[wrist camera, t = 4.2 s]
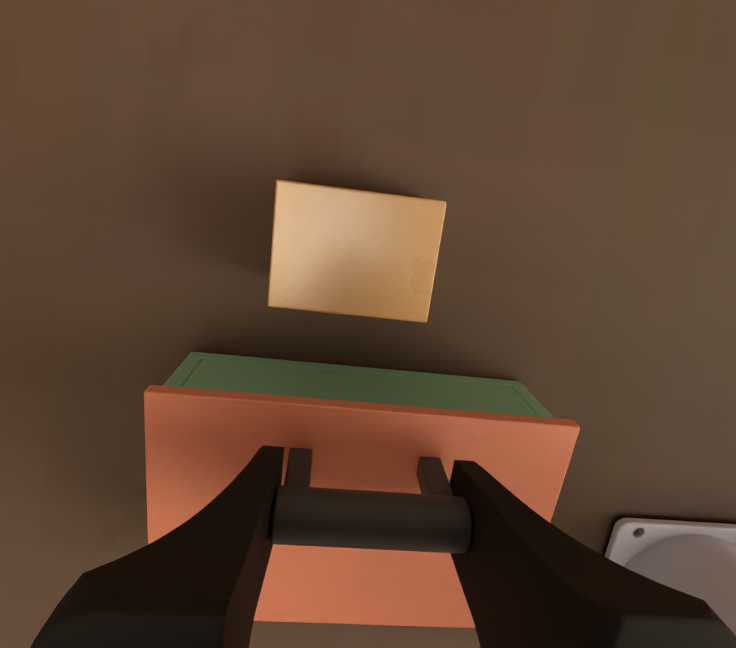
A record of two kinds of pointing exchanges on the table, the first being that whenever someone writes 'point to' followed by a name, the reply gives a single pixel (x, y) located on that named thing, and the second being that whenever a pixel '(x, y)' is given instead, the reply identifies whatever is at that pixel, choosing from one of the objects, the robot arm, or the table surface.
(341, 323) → the table surface
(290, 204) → the block
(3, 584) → the table surface
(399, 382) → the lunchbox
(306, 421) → the lid
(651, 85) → the table surface
